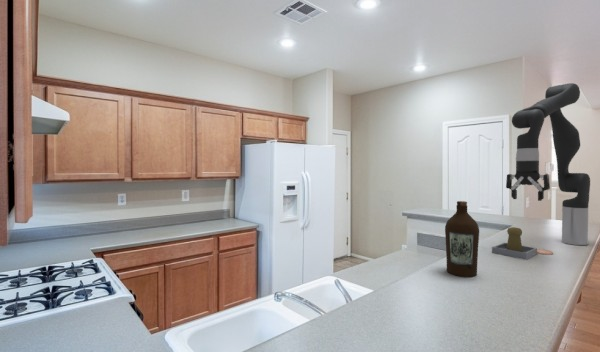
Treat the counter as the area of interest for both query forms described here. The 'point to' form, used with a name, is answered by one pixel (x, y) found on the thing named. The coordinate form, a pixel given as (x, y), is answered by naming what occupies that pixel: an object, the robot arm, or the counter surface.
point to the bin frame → (503, 250)
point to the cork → (514, 239)
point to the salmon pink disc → (544, 252)
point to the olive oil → (462, 242)
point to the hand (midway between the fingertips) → (526, 199)
